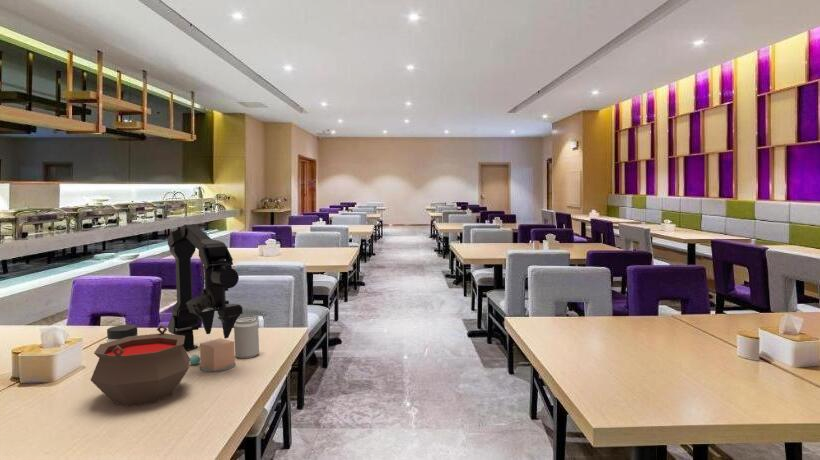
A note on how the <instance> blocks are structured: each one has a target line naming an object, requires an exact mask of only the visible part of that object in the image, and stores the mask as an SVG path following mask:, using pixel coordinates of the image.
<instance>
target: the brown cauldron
mask: <svg viewBox="0 0 820 460" xmlns="http://www.w3.org/2000/svg"><path fill="white" fill-rule="evenodd" d="M162 329H163V330H162ZM156 331H157V332H158V333H150V334H141V335H139V334H138V336H129V337H125V338H122V339H118V340H115V341H111V342H107V341H106V342H105V343H104V342H103V343H100V344H99V346H98V347H97V348H96V350H95V351H94V352H93V354H94V355H95V356H97V358H98V361H97V363H96V365H95V368H94V371H93V374H92V376H91V377H90V382H91V383H93V384H94V386H96V387H97V388H98V389H99V390H100V391H101V392H102V393H103V394H104V395H105V396H106V398H108V399H109V400H110V401H111V402H112V403H113V404H116V405H121V406H126V407H135V406H140V405H141V406H142V405H149V403H150V404H155V403H157V402H159V401H162V400H164V399H167V398H169V397H171V395H172V396H173V394H174V392H175V390H176V389H177V388H178V386H179V385H180V383H181V382H182V380H183V378H184V376H185V375H186V374H187V372H188V370H189V369H190V364H191V363H190V358H191V357H190V356H189V353H187V351H186V350H185V349H184V347H183V344H184V339H185V336H182V335H175V334H172V333H166V332H167V331H168V327H166V326H165V325H164V324H162V323H161V324H160V325H159V326H158V327H157V328H156Z"/></svg>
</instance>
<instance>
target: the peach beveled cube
mask: <svg viewBox="0 0 820 460" xmlns="http://www.w3.org/2000/svg"><path fill="white" fill-rule="evenodd" d="M199 354H200V355H199V357H200V367H205V368H208V369H211V370H218V369H221V368H224V367H227V366H231V365H234V364H235V363H236V362H235V361H236V360H235V359H236V357H235V356H236V355H235V340H234V341H233V340H229V339H227V338H220V337H219V338H215V339H212V340H208V341H204V342H200V343H199Z"/></svg>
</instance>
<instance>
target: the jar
mask: <svg viewBox="0 0 820 460" xmlns="http://www.w3.org/2000/svg"><path fill="white" fill-rule="evenodd" d="M106 335H107V336H106V337H107V339H106V343H107V342H111V341H115V340H118V339H122V338H125V337H129V336H139V334H138V325H136V324H121V325H115V326H111V327H108V328H107V329H106Z"/></svg>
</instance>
